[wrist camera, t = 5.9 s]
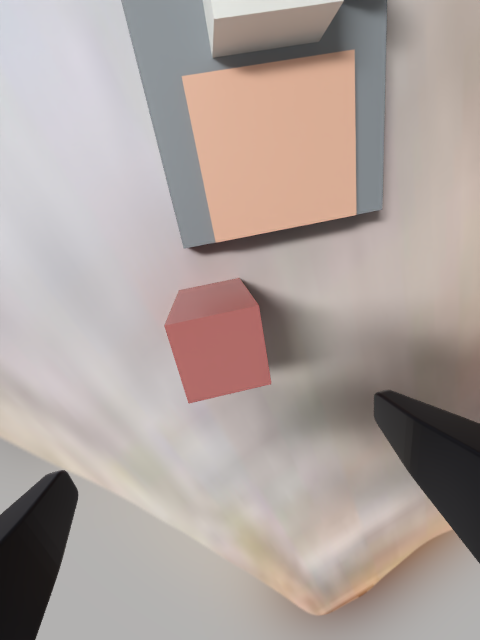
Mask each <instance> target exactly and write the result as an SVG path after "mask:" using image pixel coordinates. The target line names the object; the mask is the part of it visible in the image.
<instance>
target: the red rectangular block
mask: <svg viewBox="0 0 480 640" xmlns="http://www.w3.org/2000/svg"><path fill="white" fill-rule="evenodd" d="M164 326H165V329H166V332H167V336H168V339H169V342H170V345H171V348H172V352H173V355H174V358H175V361H176V365H177V368H178V371H179V374H180V377H181V381H182V384H183V387H184V390H185V393H186V397H187V400H188V403H193V402H197V401H201V400H205V399H210V398H214V397H218V396H222V395H227V394H231V393H235V392H239V391H244V390H248V389H252V388H256V387H261V386H265V385H269V384H271V378H270V372H269V366H268V359H267V353H266V347H265V341H264V334H263V328H262V322H261V315H260V309H259V305H258V303H257V302H256V301H255V299H254V298H253V296H252V295H251V294H250V292H249V291H248V289H247V288H246V287H245V285H244V284H243V282H242V281H241V280H240V278H237V279H232V280H227V281H222V282H217V283H212V284H208V285H203V286H198V287H193V288H188V289H183V290H179V292H178V294H177V296H176V299H175V301H174V304H173V306H172V308H171V311H170V313H169V316H168V318H167V320H166V323H165V325H164Z"/></svg>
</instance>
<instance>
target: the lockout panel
mask: <svg viewBox="0 0 480 640" xmlns="http://www.w3.org/2000/svg"><path fill="white" fill-rule="evenodd" d="M121 1H122V5H123V9H124V13H125V17H126V21H127V25H128V29H129V33H130V37H131V41H132V45H133V49H134V53H135V57H136V61H137V65H138V69H139V73H140V77H141V80H142V84H143V88H144V92H145V96H146V100H147V104H148V108H149V112H150V116H151V120H152V124H153V128H154V132H155V136H156V140H157V144H158V148H159V152H160V156H161V160H162V164H163V168H164V172H165V176H166V180H167V184H168V188H169V192H170V196H171V200H172V204H173V208H174V211H175V215H176V219H177V223H178V227H179V231H180V235H181V239H182V243H183V247H184V248H190V247H195V246H200V245H205V244H210V243H215V242H216V243H217V242H222V241H227V240H232V239H237V238H242V237H247V236H252V235H257V234H263V233H268V232H273V231H278V230H283V229H288V228H293V227H298V226H303V225H308V224H313V223H318V222H324V221H329V220H334V219H339V218H344V217H349V216H354V215H357V214H362V213H367V212H373V211H378V210H382V199H383V155H384V112H385V68H386V25H387V0H121Z"/></svg>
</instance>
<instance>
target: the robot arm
mask: <svg viewBox="0 0 480 640" xmlns="http://www.w3.org/2000/svg"><path fill="white" fill-rule="evenodd" d="M374 418H375V420H376V422H377V424H378V426H379V427H380V429H381V430H382V432H383V433H384V435H385V437H386V438H387V440H388V441H389V443H390V444H391V446H392V447H393V449H394V450H395V452H396V454H397V455H398V457H399V458H400V460H401V461H402V463H403V464H404V466H405V467H406V469H407V470H408V472H409V473H410V474H411V476H412V477H413V478H414V480H415V481H416V482H417V484H418V485H419V486H420V488H421V489H422V490H423V491H424V493H425V494H426V495H427V497H428V498H429V499H430V500H431V502H432V503H433V504H434V506H435V507H436V508H437V509H438V511H439V512H440V513H441V515H442V516H443V517H444V518H445V520H446V521H447V522H448V523H449V525H450V526H451V527H452V529H453V530H454V531H455V532H456V534H457V535H458V536H459V538H460V539H461V540H462V541H463V543H464V544H465V545H466V547H467V548H468V549H469V550H470V552H471V553H472V554H473V556H474V557H475V558H476V559H477V561H478V562H479V563H480V423H477V422H474V421H472V420H469V419H466V418H464V417H461V416H458V415H455V414H453V413H450V412H447V411H445V410H442V409H439V408H437V407H434V406H431V405H429V404H426V403H423V402H421V401H418V400H415V399H413V398H410V397H407V396H405V395H402V394H399V393H397V392H394V391H391V390H384V391H380V392H377V393H375V395H374ZM77 501H78V490H77V488H76V486H75V484H74V483H73V481H72V479H71V477H70V476H69V474H68V473H67V472H66V471H65V470H61V471H57V472H52V473H50V474H47V475H46V476H45V477H43V478H42V479H41V480H40V481H39V482H37V483H36V484H35V485H34V486H33V487H32V488H31V489H30V490H28V491H27V492H26V493H25V494H24V495H23V496H21V497H20V498H19V499H18V500H17V501H16V502H14V503H13V504H12V505H11V506H10V507H9V508H8V509H6V510H5V511H4V512H3V513H2V514H1V515H0V640H35V639H36V636H37V633H38V630H39V627H40V625H41V622H42V619H43V616H44V613H45V610H46V607H47V604H48V602H49V599H50V596H51V593H52V590H53V587H54V584H55V581H56V578H57V575H58V572H59V569H60V566H61V562H62V558H63V555H64V551H65V547H66V543H67V540H68V535H69V532H70V528H71V524H72V520H73V516H74V512H75V509H76V505H77Z"/></svg>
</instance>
